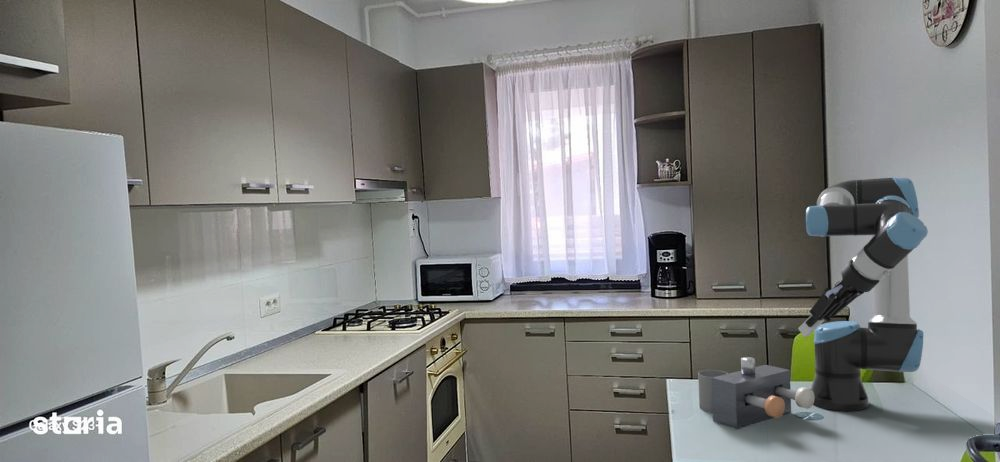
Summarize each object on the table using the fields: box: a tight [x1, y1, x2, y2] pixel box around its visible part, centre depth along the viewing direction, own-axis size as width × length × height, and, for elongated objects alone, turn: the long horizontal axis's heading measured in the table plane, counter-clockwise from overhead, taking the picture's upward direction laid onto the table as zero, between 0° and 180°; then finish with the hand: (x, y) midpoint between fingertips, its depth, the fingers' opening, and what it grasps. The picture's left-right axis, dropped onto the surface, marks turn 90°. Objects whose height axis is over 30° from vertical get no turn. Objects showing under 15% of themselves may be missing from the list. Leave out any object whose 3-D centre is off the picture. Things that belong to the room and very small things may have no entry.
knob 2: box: [775, 386, 815, 410], centre depth 175 cm, size 10×5×5 cm, turn 30°
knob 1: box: [745, 394, 785, 419], centre depth 169 cm, size 10×5×5 cm, turn 30°
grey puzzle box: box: [712, 364, 792, 430], centre depth 179 cm, size 8×22×12 cm, turn 120°
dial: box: [740, 356, 756, 375], centre depth 180 cm, size 4×4×4 cm
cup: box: [697, 369, 729, 413], centre depth 189 cm, size 8×8×10 cm
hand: (803, 332), depth 165 cm, fingers closed
